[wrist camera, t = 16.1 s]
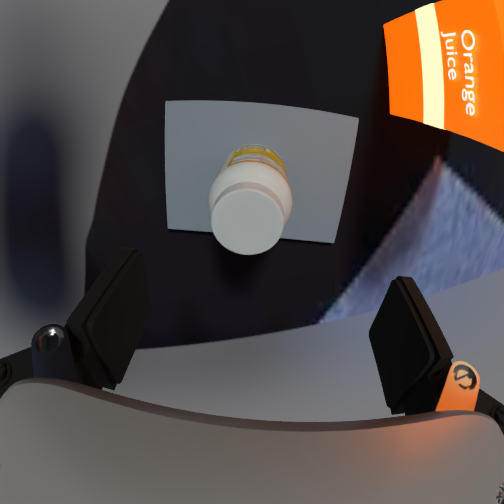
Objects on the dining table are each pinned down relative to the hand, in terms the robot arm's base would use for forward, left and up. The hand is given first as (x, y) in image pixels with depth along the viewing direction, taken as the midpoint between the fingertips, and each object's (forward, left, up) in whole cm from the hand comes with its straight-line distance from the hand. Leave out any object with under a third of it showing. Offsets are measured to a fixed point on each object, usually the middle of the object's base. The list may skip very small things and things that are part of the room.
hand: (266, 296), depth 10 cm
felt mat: (+1, 0, -16) cm, 16 cm away
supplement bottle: (+1, 0, -16) cm, 16 cm away
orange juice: (-13, -12, -16) cm, 24 cm away
